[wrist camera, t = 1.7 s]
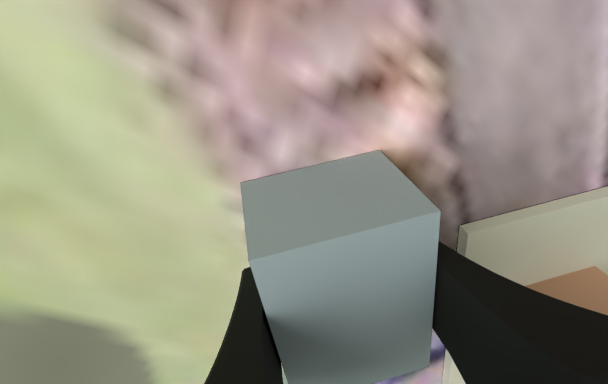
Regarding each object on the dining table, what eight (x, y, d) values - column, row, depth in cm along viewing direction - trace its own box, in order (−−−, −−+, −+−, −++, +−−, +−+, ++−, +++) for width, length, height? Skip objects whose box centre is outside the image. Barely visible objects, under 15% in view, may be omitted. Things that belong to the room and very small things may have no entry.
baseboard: (569, 368, 24) (577, 376, 24) (438, 410, 23) (443, 419, 23) (659, 172, 16) (674, 178, 15) (459, 225, 15) (468, 233, 14)
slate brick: (384, 286, 16) (429, 366, 12) (279, 315, 15) (295, 407, 12) (379, 149, 12) (440, 211, 9) (240, 182, 12) (248, 260, 8)
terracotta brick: (561, 347, 21) (626, 415, 18) (486, 371, 21) (539, 445, 17) (594, 265, 17) (684, 331, 14) (505, 291, 17) (576, 366, 14)
